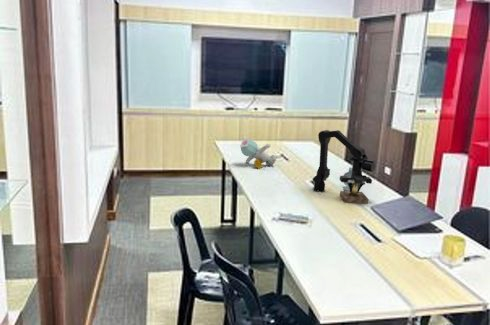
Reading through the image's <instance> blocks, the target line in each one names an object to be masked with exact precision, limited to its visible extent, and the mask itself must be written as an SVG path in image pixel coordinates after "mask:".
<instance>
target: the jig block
mask: <svg viewBox="0 0 490 325" xmlns="http://www.w3.org/2000/svg"><path fill="white" fill-rule="evenodd" d="M339 196H340V198H341V199H342V200H343V202H344V203H345V204H347V203H348V204H349V203H350V204H364V203H368V204H369V198H368V197H367V195H366V194H365V193H364V192H363V191H359V192H358V193H357V196H351V193H350V191H345V190H340V191H339Z"/></svg>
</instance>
